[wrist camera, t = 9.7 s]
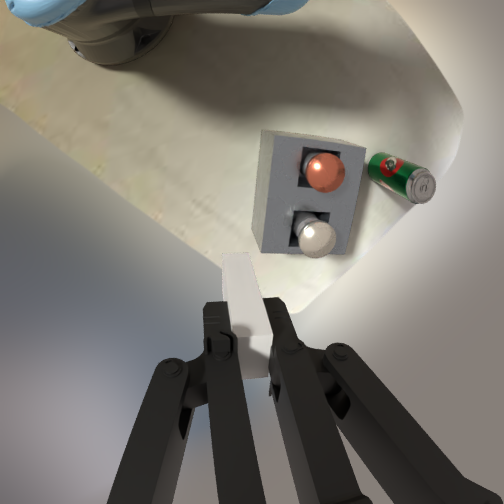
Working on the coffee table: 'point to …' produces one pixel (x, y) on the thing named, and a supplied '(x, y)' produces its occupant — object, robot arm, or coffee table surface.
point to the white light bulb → (313, 234)
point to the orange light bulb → (322, 170)
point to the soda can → (402, 177)
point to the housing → (301, 190)
